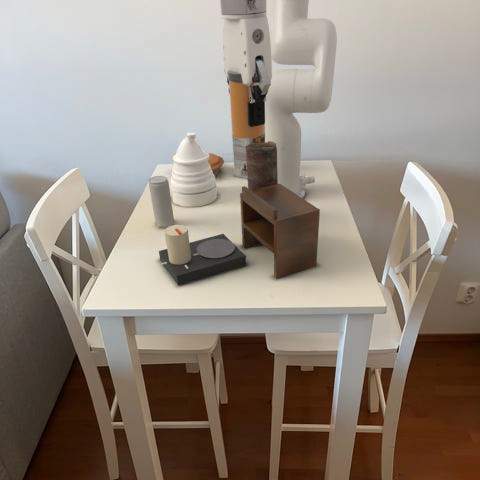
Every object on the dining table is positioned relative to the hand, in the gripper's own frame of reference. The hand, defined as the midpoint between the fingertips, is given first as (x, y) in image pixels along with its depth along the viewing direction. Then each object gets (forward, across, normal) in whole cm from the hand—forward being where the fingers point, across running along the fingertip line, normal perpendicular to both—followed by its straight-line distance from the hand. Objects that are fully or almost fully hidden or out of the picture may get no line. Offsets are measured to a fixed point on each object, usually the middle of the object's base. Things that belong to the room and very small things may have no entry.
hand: (247, 120), depth 87 cm
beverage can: (+30, +27, +11) cm, 42 cm away
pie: (+30, +54, -11) cm, 63 cm away
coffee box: (+30, +46, -24) cm, 60 cm away
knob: (+27, +4, +16) cm, 31 cm away
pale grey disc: (+27, +4, +7) cm, 28 cm away
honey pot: (+30, +38, -2) cm, 49 cm away
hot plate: (+30, +4, +11) cm, 32 cm away
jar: (+2, 0, 0) cm, 2 cm away
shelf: (+30, -3, -5) cm, 30 cm away
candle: (+30, +13, -10) cm, 34 cm away
